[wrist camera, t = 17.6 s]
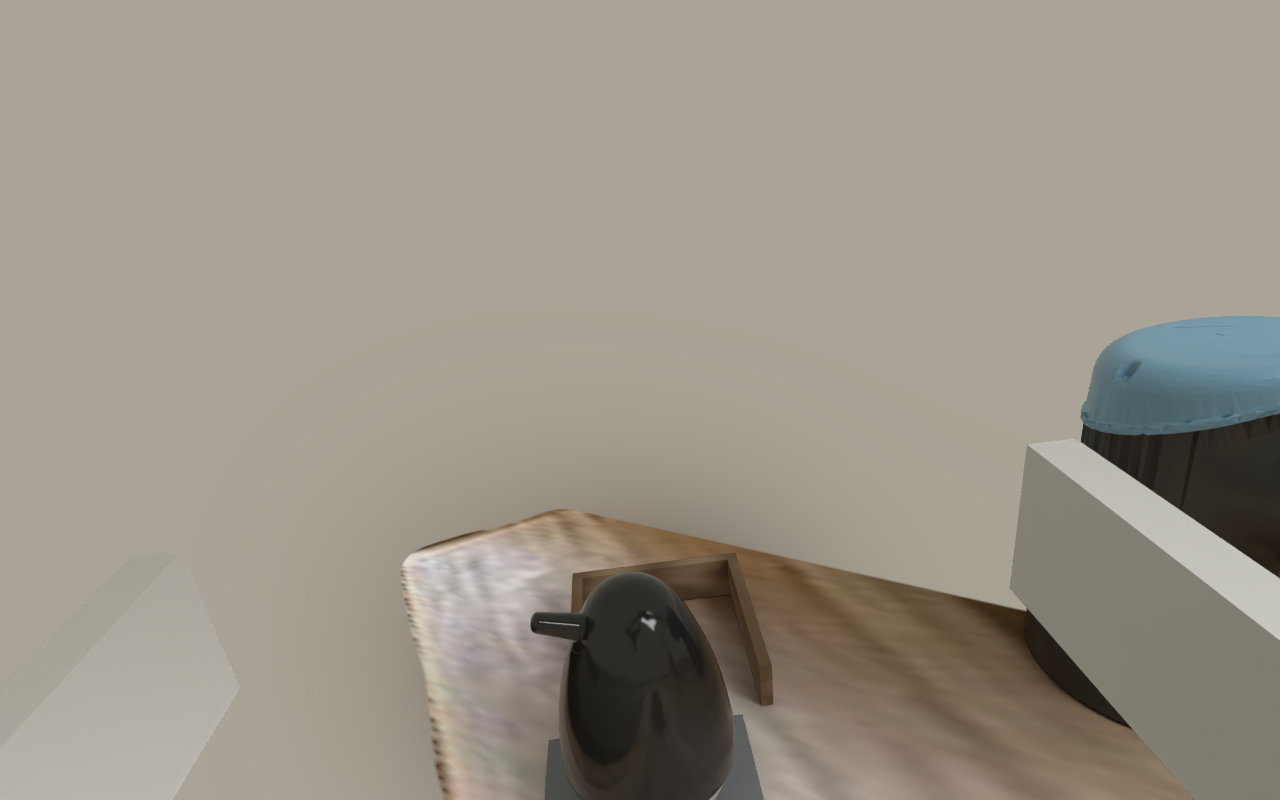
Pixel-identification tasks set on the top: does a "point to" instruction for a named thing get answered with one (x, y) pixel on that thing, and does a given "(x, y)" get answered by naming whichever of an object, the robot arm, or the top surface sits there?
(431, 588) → the top surface
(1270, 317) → the robot arm
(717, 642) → the top surface
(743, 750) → the grey mat
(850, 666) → the top surface
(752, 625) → the walnut caddy
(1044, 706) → the top surface
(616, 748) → the pump dispenser
